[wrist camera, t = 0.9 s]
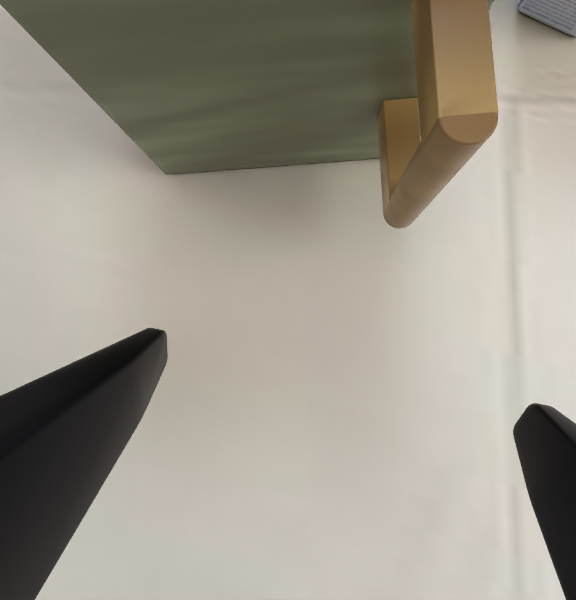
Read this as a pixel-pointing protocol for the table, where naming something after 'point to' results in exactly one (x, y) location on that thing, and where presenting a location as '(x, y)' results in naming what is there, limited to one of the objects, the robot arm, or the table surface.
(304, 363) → the table surface
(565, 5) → the medicine box
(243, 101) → the door
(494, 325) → the table surface
